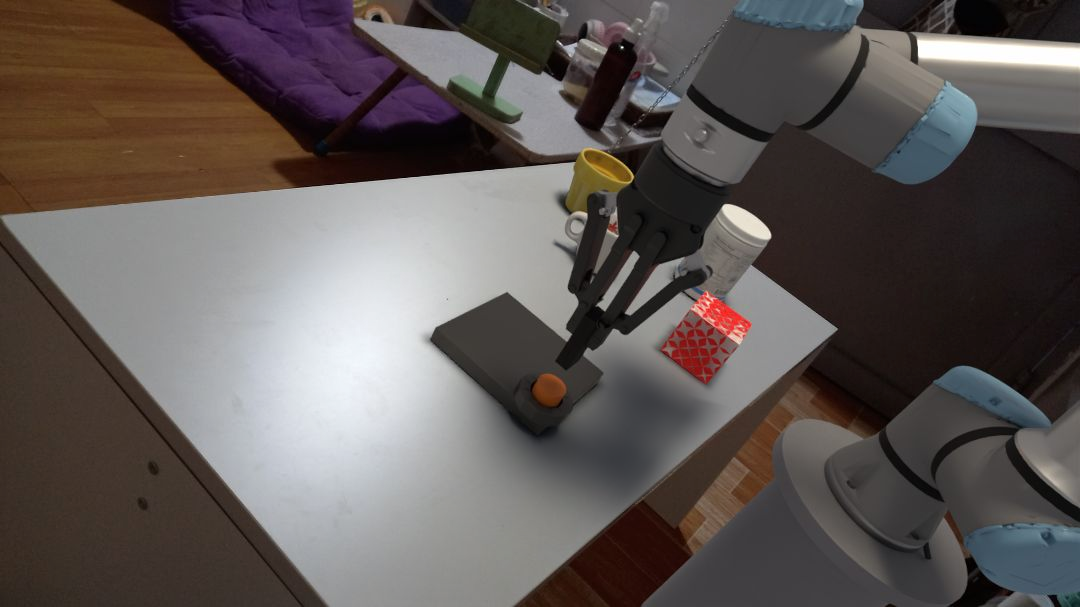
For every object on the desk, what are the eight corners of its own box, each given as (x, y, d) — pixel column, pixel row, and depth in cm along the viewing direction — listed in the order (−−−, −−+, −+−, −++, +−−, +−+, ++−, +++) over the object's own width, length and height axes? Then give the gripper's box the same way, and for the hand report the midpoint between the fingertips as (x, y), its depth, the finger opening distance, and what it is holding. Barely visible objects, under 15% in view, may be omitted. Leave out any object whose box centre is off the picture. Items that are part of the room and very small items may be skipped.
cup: (548, 253, 98) (571, 211, 93) (559, 233, 104) (582, 192, 100) (610, 288, 98) (636, 247, 94) (617, 265, 105) (642, 226, 100)
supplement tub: (678, 263, 116) (725, 196, 108) (724, 293, 115) (775, 227, 107) (667, 284, 108) (717, 212, 100) (715, 315, 107) (770, 246, 99)
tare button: (564, 399, 69) (571, 388, 68) (549, 412, 66) (556, 401, 65) (541, 380, 70) (548, 369, 69) (526, 392, 67) (533, 380, 66)
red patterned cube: (677, 329, 97) (706, 290, 93) (720, 361, 96) (752, 323, 91) (659, 349, 91) (690, 309, 87) (706, 385, 89) (739, 345, 85)
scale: (603, 389, 78) (617, 369, 76) (539, 447, 66) (554, 425, 64) (501, 302, 83) (512, 282, 81) (423, 342, 71) (434, 319, 69)
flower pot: (614, 235, 113) (642, 188, 108) (563, 219, 109) (590, 170, 104) (599, 203, 121) (624, 158, 116) (550, 187, 116) (574, 140, 111)
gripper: (615, 121, 51) (498, 332, 64) (751, 217, 48) (600, 420, 60) (650, 116, 57) (538, 309, 70) (774, 201, 54) (632, 388, 66)
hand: (567, 360), depth 65 cm, fingers closed
